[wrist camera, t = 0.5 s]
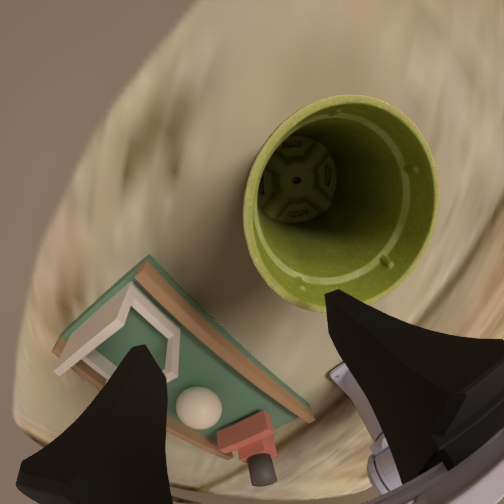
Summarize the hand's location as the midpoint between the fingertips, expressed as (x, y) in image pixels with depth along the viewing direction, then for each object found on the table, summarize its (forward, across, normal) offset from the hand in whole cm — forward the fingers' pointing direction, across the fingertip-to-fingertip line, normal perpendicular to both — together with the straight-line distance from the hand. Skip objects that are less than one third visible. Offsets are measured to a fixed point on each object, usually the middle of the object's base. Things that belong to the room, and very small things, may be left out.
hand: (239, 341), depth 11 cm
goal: (+10, +10, +4) cm, 14 cm away
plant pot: (+10, -6, -3) cm, 12 cm away
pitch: (+10, +6, +12) cm, 17 cm away
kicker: (+8, +3, +20) cm, 22 cm away
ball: (+7, +6, +12) cm, 16 cm away
